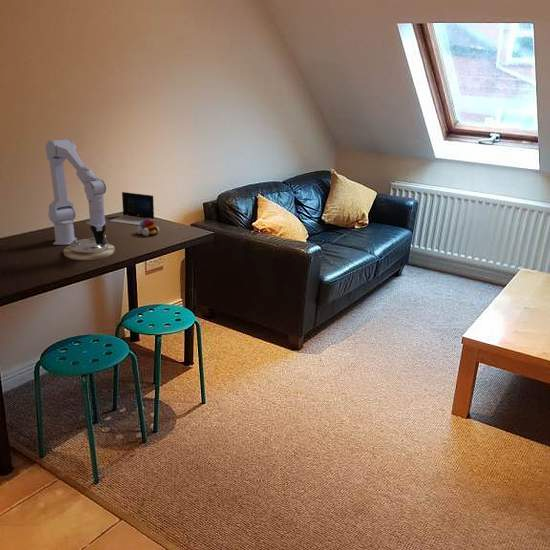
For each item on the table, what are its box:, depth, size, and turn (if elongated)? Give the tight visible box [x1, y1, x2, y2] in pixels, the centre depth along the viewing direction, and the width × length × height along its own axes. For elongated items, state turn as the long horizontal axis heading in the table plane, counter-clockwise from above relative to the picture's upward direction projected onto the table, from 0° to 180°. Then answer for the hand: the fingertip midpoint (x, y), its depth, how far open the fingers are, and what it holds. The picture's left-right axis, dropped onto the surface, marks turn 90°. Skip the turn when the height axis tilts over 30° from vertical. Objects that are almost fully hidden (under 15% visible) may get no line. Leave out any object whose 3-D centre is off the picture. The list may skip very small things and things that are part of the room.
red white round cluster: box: [136, 218, 160, 237], centre depth 253 cm, size 8×10×7 cm
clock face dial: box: [68, 234, 109, 254], centre depth 224 cm, size 15×15×6 cm
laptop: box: [109, 191, 155, 226], centre depth 273 cm, size 18×12×13 cm
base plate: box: [63, 243, 116, 261], centre depth 225 cm, size 20×20×2 cm
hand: (99, 243), depth 221 cm, fingers closed
